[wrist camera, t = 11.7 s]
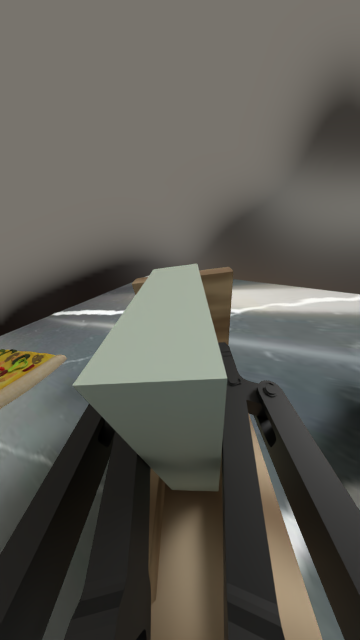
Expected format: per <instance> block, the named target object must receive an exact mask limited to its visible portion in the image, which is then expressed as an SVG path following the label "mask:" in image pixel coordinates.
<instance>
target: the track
mask: <svg viewBox="0 0 360 640" xmlns="http://www.w3.org/2000/svg"><path fill="white" fill-rule="evenodd" d="M199 272H200V276H201V280H202V284H203V288H204V291H205V295H206V299H207V303H208V307H209V310H210V314H211V318H212V322H213V326H214V329H215V333H216V337H217V341H218V343H219V342H225V343H226V344H227V345H228V341H229V326H230V312H231V297H232V283H233V271H232V270H231V268H230V267H224V268H216V269H209V270H200V271H199ZM147 278H148V277H145V278H138V279H136V280H135V281H134V282H133V283H132V286H133V289H134V292H135V295H136V294H137V293H138V291H139V290H140V288H141V287H142V285H143V284H144V283H145V281H146V280H147ZM248 415H249V413H248ZM249 421H250V428H251V434H252V441H253V447H254V454H255V460H256V467H257V474H258V480H259V487H260V493H261V500H262V506H263V513H264V519H265V526H266V532H267V539H268V545H269V552H270V558H271V565H272V571H273V578H274V584H275V591H276V598H277V604H278V610H279V616H280V621H281V626H282V630H283V634H284V637H285V640H322V637H321V633H320V630H319V627H318V624H317V621H316V618H315V615H314V612H313V609H312V606H311V603H310V600H309V597H308V594H307V591H306V588H305V584H304V581H303V578H302V575H301V572H300V569H299V566H298V563H297V560H296V557H295V554H294V551H293V548H292V545H291V542H290V539H289V535H288V532H287V529H286V526H285V523H284V520H283V517H282V514H281V511H280V508H279V505H278V502H277V499H276V496H275V493H274V489H273V486H272V483H271V480H270V477H269V474H268V471H267V468H266V465H265V462H264V459H263V456H262V453H261V450H260V447H259V444H258V440H257V437H256V434H255V431H254V428H253V425H252V422H251V419H250V416H249ZM148 570H149V578H150V584H151V640H224V602H223V585H224V575H223V507H222V453H221V466H220V478H219V491H189V490H172V489H171V488H170V487H169V486H168V485H167V484H166V483H165V482H164V481H163V480H162V479H161V478H160V477H159V476H158V475H157V474H156V473H155V472H154V471H153V469H152V468H151V470H150V515H149V560H148Z"/></svg>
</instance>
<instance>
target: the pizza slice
mask: <svg viewBox="0 0 360 640" xmlns="http://www.w3.org/2000/svg"><path fill="white" fill-rule="evenodd" d="M65 360H66V357H65V356H64V355H56V356H55V355H51V354H46V353H36V352H27V351H25V352H22V351H17V350H13V349H11V350H4V349H1V350H0V409H1V408H2V407H4V406H5V405H7V404H9V403H10V402H12V401H13V400H15V399H16V398H18V397H19V396H21V395H22V394H24V393H25V392H27V391H28V390H29V389H31V388H32V387H33V386H35V385H36V384H38V383H39V382H40V381H42V380H43V379H44V378H45V377H47V376H48V375H49V374H51V373H52V372H53V371H54V370H55V369H57V368H58V367H59V366H60V365H61V364H62V363H64V362H65Z"/></svg>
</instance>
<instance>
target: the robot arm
mask: <svg viewBox="0 0 360 640" xmlns="http://www.w3.org/2000/svg"><path fill="white" fill-rule="evenodd" d="M218 345H219V348H220V352H221V356H222V360H223V364H224V367H225V371H226V375H227V390H226V402H225V415H224V428H223V440H222V507H223V575H224V585H223V602H224V640H285V637H284V634H283V630H282V626H281V621H280V616H279V610H278V604H277V598H276V591H275V584H274V578H273V571H272V565H271V558H270V552H269V545H268V539H267V532H266V526H265V519H264V513H263V506H262V500H261V493H260V487H259V480H258V474H257V467H256V460H255V454H254V447H253V441H252V434H251V428H250V421H249V415H248V413H249V414H252V415H254V418H255V420H256V423H257V425H258V428H259V430H260V432H261V435H262V437H263V440H264V442H265V445H266V447H267V450H268V452H269V455H270V457H271V459H272V462H273V464H274V467H275V469H276V472H277V474H278V477H279V479H280V482H281V484H282V487H283V489H284V491H285V494H286V496H287V499H288V501H289V504H290V506H291V509H292V511H293V514H294V516H295V519H296V521H297V523H298V526H299V528H300V531H301V533H302V536H303V538H304V541H305V543H306V546H307V548H308V551H309V553H310V555H311V558H312V560H313V563H314V565H315V568H316V570H317V573H318V575H319V578H320V580H321V583H322V585H323V587H324V590H325V592H326V595H327V597H328V600H329V602H330V605H331V607H332V610H333V612H334V614H335V617H336V619H337V622H338V624H339V627H340V629H341V632H342V634H343V637H344V639H345V640H360V511H359V509H358V508H357V506H356V504H355V503H354V501H353V500H352V498H351V497H350V495H349V494H348V492H347V490H346V489H345V487H344V486H343V484H342V483H341V481H340V479H339V478H338V476H337V475H336V473H335V472H334V470H333V469H332V467H331V465H330V464H329V462H328V461H327V459H326V458H325V456H324V455H323V453H322V451H321V450H320V448H319V447H318V445H317V444H316V442H315V440H314V439H313V437H312V436H311V434H310V433H309V431H308V430H307V428H306V426H305V425H304V423H303V422H302V420H301V419H300V417H299V416H298V414H297V412H296V411H295V409H294V408H293V406H292V405H291V403H290V401H289V400H288V398H287V397H286V395H285V394H284V392H283V391H282V389H281V388H280V387H279V386H278V385H277V384H275V383H274V382H271V381H265V380H264V381H261V382H260V383H259V384H258V383H254V382H250V381H247V380H245V379H243V378H242V377H241V376H240V375H239V373H238V371H237V368H236V365H235V363H234V360H233V357H232V354H231V351H230V348H229V346H228V345H227V344H226V343H225V342H219V343H218ZM110 454H111V455H110ZM109 457H110V460H109ZM108 460H109V465H108V470H107V475H106V480H105V485H104V490H103V495H102V500H101V505H100V510H99V515H98V520H97V525H96V530H95V535H94V540H93V545H92V550H91V555H90V560H89V565H88V570H87V575H86V580H85V585H84V589H83V593H82V596H81V599H80V602H79V604H78V606H77V608H76V610H75V613H74V615H73V617H72V619H71V621H70V624H69V627H68V630H67V633H66V636H65V639H64V640H151V584H150V578H149V570H148V560H149V515H150V470H151V467H150V466H149V465H148V464H147V463H146V462H145V461H144V460H143V459H142V458H141V457H140V456H139V455H138V454H137V453H136V452H135V451H134V450H133V449H132V448H131V446H130V445H129V444H128V443H127V442H126V441H125V440H124V439H123V438H122V437H121V436H120V435H119V434H118V433H117V432H116V431H115V430H114V429H113V428H112V427H111V426H110V424H109V423H108V422H107V421H106V420H105V419H104V418H103V417H102V416H101V415H100V414H99V413H98V412H97V411H96V410H95V409H94V408H93V407H92V406H91V405H90V404H89V405H88V407H87V408H86V410H85V412H84V413H83V415H82V417H81V418H80V420H79V422H78V424H77V425H76V427H75V429H74V430H73V432H72V434H71V435H70V437H69V439H68V441H67V442H66V444H65V446H64V447H63V449H62V451H61V452H60V454H59V456H58V458H57V459H56V461H55V463H54V464H53V466H52V468H51V469H50V471H49V473H48V475H47V476H46V478H45V480H44V481H43V483H42V485H41V486H40V488H39V490H38V491H37V493H36V495H35V497H34V498H33V500H32V502H31V503H30V505H29V507H28V508H27V510H26V512H25V514H24V515H23V517H22V519H21V520H20V522H19V524H18V525H17V527H16V529H15V531H14V532H13V534H12V536H11V537H10V539H9V541H8V542H7V544H6V546H5V548H4V549H3V551H2V553H1V554H0V640H42V637H43V635H44V632H45V630H46V627H47V624H48V622H49V619H50V616H51V614H52V611H53V608H54V606H55V603H56V600H57V597H58V595H59V592H60V589H61V587H62V584H63V581H64V579H65V576H66V573H67V570H68V568H69V565H70V562H71V560H72V557H73V554H74V552H75V549H76V546H77V543H78V541H79V538H80V535H81V533H82V530H83V527H84V525H85V522H86V519H87V516H88V514H89V511H90V508H91V506H92V503H93V500H94V498H95V495H96V492H97V489H98V487H99V484H100V481H101V479H102V476H103V473H104V471H105V468H106V465H107V462H108Z"/></svg>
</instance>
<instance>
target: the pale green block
mask: <svg viewBox="0 0 360 640" xmlns="http://www.w3.org/2000/svg"><path fill="white" fill-rule="evenodd" d="M72 386H73V387H74V388H75V389H76V390H77V391H78V392H79V393H80V394H81V395H82V396H83V397H84V398H85V399H86V400H87V401H88V402H89V404H90V405H91V406H92V407H93V408H94V409H95V410H96V411H97V412H98V413H99V414H100V415H101V416H102V417H103V418H104V419H105V420H106V421H107V422H108V423H109V424H110V426H111V427H112V428H113V429H114V430H115V431H116V432H117V433H118V434H119V435H120V436H121V437H122V438H123V439H124V440H125V441H126V442H127V443H128V444H129V445H130V446H131V448H132V449H133V450H134V451H135V452H136V453H137V454H138V455H139V456H140V457H141V458H142V459H143V460H144V461H145V462H146V463H147V464H148V465H149V466H150V467H151V468H152V469H153V471H154V472H155V473H156V474H157V475H158V476H159V477H160V478H161V479H162V480H163V481H164V482H165V483H166V484H167V485H168V486H169V487H170V488H171V489H172V490H189V491H219V478H220V466H221V453H222V440H223V428H224V415H225V402H226V390H227V375H226V371H225V367H224V364H223V360H222V356H221V352H220V348H219V345H218V341H217V337H216V333H215V329H214V326H213V322H212V318H211V314H210V310H209V307H208V303H207V299H206V295H205V291H204V288H203V284H202V280H201V276H200V272H199V269H198V265H197V264H191V265H184V266H176V267H168V268H161V269H154V270H153V271H152V273H151V274H150V275H149V277H148V278H147V280H146V281H145V283H144V284H143V285H142V287H141V288H140V290H139V291H138V293H137V294H136V295H135V297H134V298H133V300H132V301H131V303H130V304H129V305H128V307H127V308H126V310H125V311H124V313H123V314H122V315H121V317H120V318H119V320H118V321H117V323H116V324H115V325H114V327H113V328H112V330H111V331H110V333H109V334H108V335H107V337H106V338H105V340H104V341H103V343H102V344H101V345H100V347H99V348H98V350H97V351H96V353H95V354H94V355H93V357H92V358H91V360H90V361H89V363H88V364H87V365H86V367H85V368H84V370H83V371H82V373H81V374H80V375H79V377H78V378H77V380H76V381H75V383H74V384H73V385H72Z"/></svg>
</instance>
